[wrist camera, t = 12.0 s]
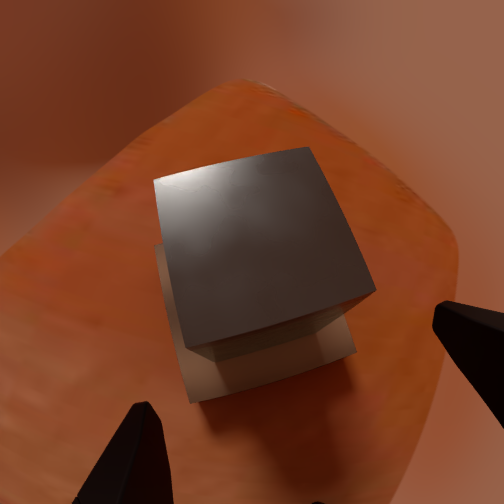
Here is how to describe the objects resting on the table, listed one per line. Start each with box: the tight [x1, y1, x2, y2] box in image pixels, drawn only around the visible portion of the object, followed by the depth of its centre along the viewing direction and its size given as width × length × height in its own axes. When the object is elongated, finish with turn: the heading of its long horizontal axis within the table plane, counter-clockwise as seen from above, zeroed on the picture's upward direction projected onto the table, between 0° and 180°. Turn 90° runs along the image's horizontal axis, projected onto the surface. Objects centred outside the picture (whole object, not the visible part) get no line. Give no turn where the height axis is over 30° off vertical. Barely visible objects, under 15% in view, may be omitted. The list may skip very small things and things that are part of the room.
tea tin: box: [154, 147, 376, 363], centre depth 15 cm, size 7×7×10 cm
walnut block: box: [154, 243, 357, 404], centre depth 21 cm, size 11×11×3 cm
